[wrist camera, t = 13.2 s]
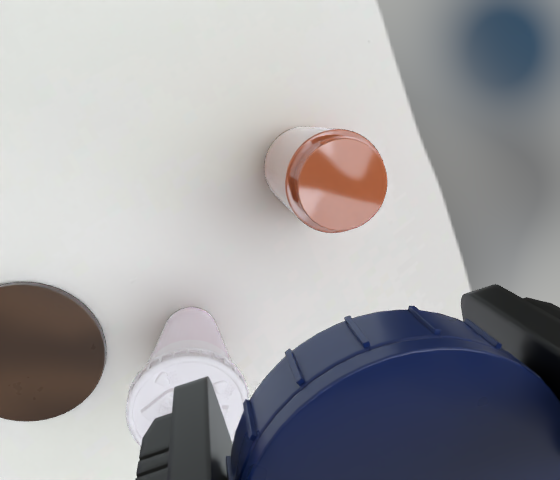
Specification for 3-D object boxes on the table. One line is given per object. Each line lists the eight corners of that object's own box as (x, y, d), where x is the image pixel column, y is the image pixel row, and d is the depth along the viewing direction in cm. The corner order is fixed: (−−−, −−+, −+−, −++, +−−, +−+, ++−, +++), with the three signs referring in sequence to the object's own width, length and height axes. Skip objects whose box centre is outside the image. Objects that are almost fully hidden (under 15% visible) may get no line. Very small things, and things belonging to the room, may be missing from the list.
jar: (351, 188, 33) (407, 214, 24) (281, 218, 33) (311, 255, 24) (326, 114, 32) (376, 112, 23) (251, 144, 31) (273, 154, 22)
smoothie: (147, 285, 32) (113, 404, 19) (240, 292, 34) (270, 407, 20) (141, 370, 34) (105, 535, 20) (230, 373, 35) (252, 531, 22)
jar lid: (160, 496, 8) (154, 571, 7) (375, 241, 8) (414, 269, 6) (387, 609, 10) (417, 687, 9) (576, 408, 10) (640, 458, 8)
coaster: (127, 389, 34) (126, 393, 33) (-13, 435, 33) (-17, 441, 33) (74, 262, 31) (71, 265, 31) (-82, 309, 30) (-87, 313, 30)
